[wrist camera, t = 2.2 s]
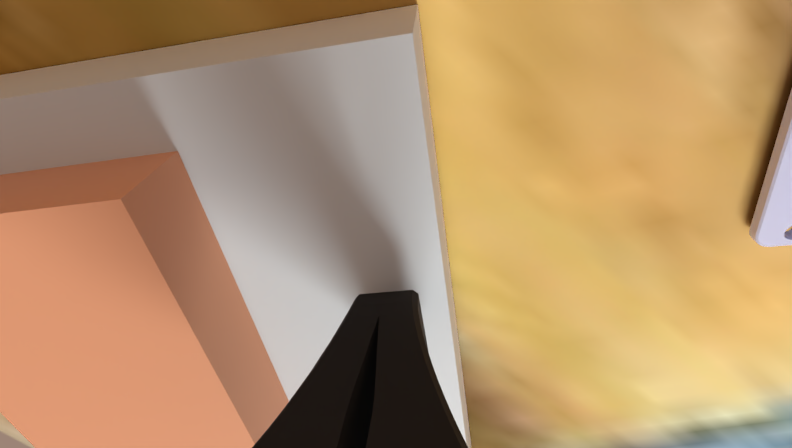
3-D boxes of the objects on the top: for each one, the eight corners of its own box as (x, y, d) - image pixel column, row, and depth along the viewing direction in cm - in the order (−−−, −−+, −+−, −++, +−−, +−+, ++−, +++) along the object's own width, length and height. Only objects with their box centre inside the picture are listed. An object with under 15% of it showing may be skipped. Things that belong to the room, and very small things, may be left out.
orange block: (177, 150, 9) (120, 199, 7) (298, 422, 14) (280, 490, 12) (-73, 184, 10) (-175, 234, 8) (121, 430, 15) (81, 494, 13)
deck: (417, 4, 11) (412, 33, 8) (470, 439, 20) (478, 538, 17) (-6, 75, 13) (-164, 125, 9) (223, 447, 22) (185, 540, 19)
